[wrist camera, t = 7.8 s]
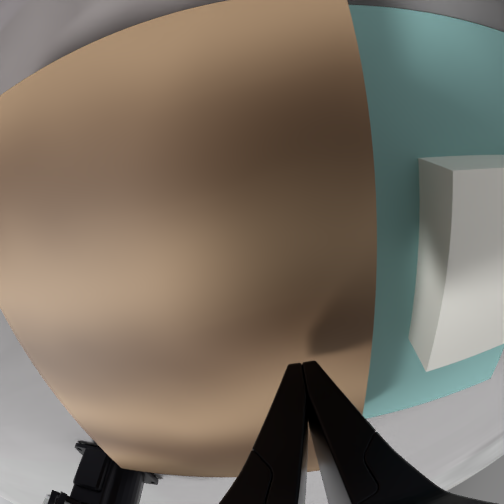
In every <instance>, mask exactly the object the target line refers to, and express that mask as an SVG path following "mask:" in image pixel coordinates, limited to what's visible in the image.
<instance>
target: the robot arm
mask: <svg viewBox="0 0 504 504" xmlns="http://www.w3.org/2000/svg"><path fill="white" fill-rule="evenodd" d="M308 424H309V429H310V434H311V437H312V441H313V445H314V449H315V453H316V457H317V460H318V464H319V468H320V472H321V476H322V480H323V483H324V487H325V491H326V495H327V499H328V503H329V504H497V503H492V502H486V501H481V500H477V499H472V498H468V497H464V496H460V495H456V494H452V493H450V492H447V491H445V490H443V489H441V488H440V487H438V486H437V485H435V484H434V483H433V482H431V481H430V480H429V479H428V478H426V477H425V476H424V475H423V474H421V473H420V472H419V471H418V470H416V469H415V468H414V467H413V466H412V465H410V464H409V463H408V462H407V461H406V460H404V459H403V458H402V457H401V456H400V455H399V454H398V453H397V452H396V451H394V450H393V448H392V447H391V446H390V445H389V444H388V443H387V442H386V441H385V440H384V439H383V438H382V437H381V436H380V434H379V433H378V432H375V431H376V430H375V429H374V428H373V427H372V426H371V424H370V423H369V422H368V421H367V420H366V419H365V417H364V416H363V415H362V414H361V413H360V412H359V411H358V409H357V408H356V407H355V406H354V405H353V404H352V402H351V401H350V400H349V399H348V398H347V397H346V396H345V394H344V393H343V392H342V391H341V390H340V389H339V387H338V386H337V385H336V384H335V383H334V382H333V380H332V379H331V378H330V377H329V376H328V374H327V373H326V372H325V371H324V370H323V369H322V367H321V366H320V365H319V364H318V363H317V362H316V361H314V360H313V361H306V362H303V363H302V364H301V363H292V364H288V366H287V368H286V370H285V373H284V375H283V378H282V380H281V383H280V385H279V388H278V390H277V393H276V395H275V397H274V400H273V402H272V405H271V407H270V409H269V412H268V414H267V416H266V418H265V421H264V423H263V425H262V428H261V430H260V432H259V434H258V437H257V439H256V441H255V443H254V445H253V448H252V450H251V452H250V454H249V456H248V458H247V460H246V462H245V464H244V466H243V468H242V470H241V471H240V473H239V475H238V477H237V478H236V480H235V481H234V483H233V484H232V486H231V488H230V489H229V490H228V492H227V493H226V495H225V496H224V497H223V499H222V500H221V501H220V503H219V504H305V496H306V479H307V459H308ZM75 448H76V449H77V450H78V451H79V452H80V453H81V454H82V455H83V456H82V459H81V461H80V464H79V467H78V469H77V472H76V475H75V478H74V480H73V483H74V486H73V489H72V492H71V495H70V497H69V496H67V494H65V493H63V492H61V493H59V492H56V491H54V490H52V492H51V495H50V498H49V500H48V503H47V504H139V502H140V498H141V493H142V489H143V485H144V483H148V484H155V485H157V484H158V479H157V478H156V477H154V476H153V475H152V474H151V473H150V472H143V471H136V470H129V469H123V468H121V467H120V466H119V465H118V464H117V463H116V462H115V461H113V460H112V459H111V458H110V457H109V456H108V455H107V454H106V453H105V452H104V451H103V450H102V449H101V448H99V447H94V446H89V445H84V444H79V443H76V445H75Z"/></svg>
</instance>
